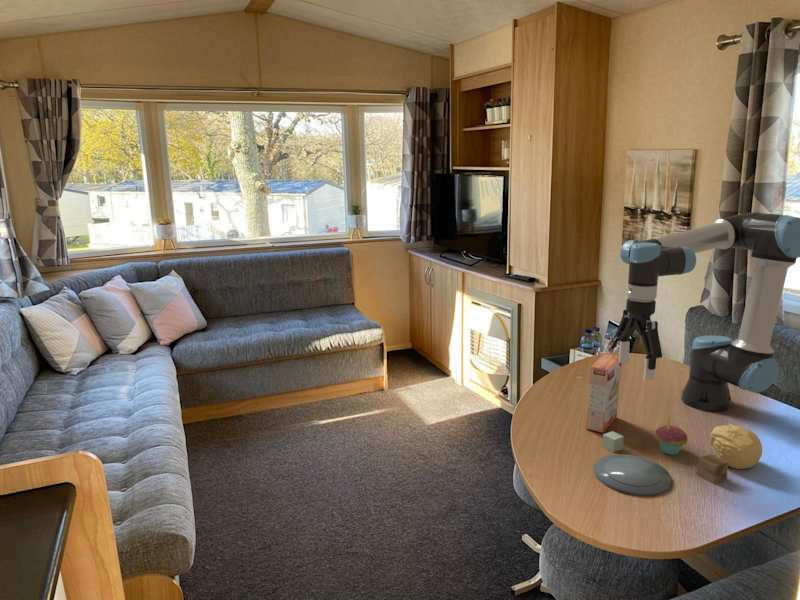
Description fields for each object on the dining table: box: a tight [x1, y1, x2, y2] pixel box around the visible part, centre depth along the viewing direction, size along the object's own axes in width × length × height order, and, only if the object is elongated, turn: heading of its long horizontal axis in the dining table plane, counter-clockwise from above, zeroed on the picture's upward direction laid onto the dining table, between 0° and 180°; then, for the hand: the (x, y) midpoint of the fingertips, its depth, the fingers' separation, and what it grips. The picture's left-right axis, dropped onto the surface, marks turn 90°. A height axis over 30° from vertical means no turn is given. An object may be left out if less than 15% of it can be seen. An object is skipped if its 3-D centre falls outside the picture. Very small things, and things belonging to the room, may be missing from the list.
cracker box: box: [585, 353, 623, 434], centre depth 186 cm, size 14×6×21 cm, turn 144°
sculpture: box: [709, 423, 763, 470], centre depth 163 cm, size 12×12×11 cm
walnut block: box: [696, 453, 729, 484], centre depth 157 cm, size 5×5×5 cm
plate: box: [593, 453, 672, 497], centre depth 159 cm, size 19×19×1 cm
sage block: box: [601, 431, 625, 453], centre depth 173 cm, size 4×4×4 cm
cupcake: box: [654, 413, 688, 456], centre depth 170 cm, size 9×8×12 cm
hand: (635, 370), depth 171 cm, fingers open, 13 cm apart
